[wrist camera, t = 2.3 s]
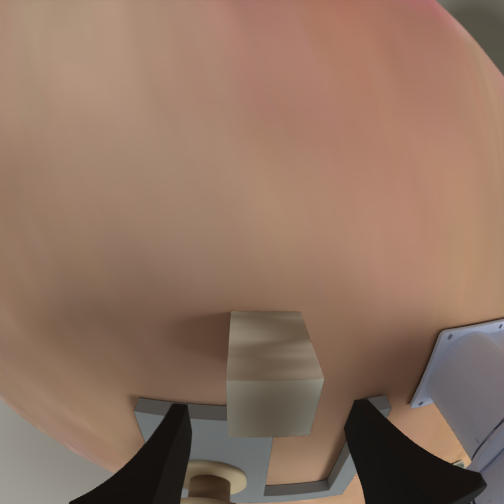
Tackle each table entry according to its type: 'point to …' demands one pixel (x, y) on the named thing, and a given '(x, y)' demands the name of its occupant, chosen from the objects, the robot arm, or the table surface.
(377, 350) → the table surface
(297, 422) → the block
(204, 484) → the spool
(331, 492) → the notched board
